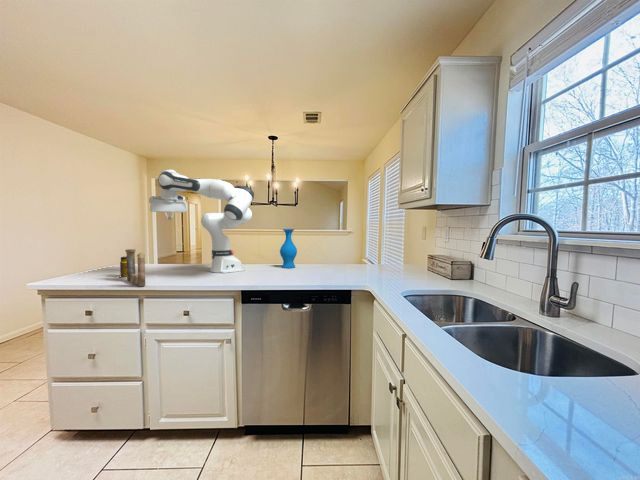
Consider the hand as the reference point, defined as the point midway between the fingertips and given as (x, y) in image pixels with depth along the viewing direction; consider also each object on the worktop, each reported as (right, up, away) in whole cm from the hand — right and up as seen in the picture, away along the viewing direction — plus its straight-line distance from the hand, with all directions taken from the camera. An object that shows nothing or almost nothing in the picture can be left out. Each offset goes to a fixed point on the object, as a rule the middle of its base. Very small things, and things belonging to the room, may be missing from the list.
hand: (169, 219), depth 173 cm
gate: (-5, -35, -23) cm, 43 cm away
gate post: (-14, -35, -14) cm, 40 cm away
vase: (+69, -33, +35) cm, 84 cm away
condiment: (-24, -35, -5) cm, 42 cm away
